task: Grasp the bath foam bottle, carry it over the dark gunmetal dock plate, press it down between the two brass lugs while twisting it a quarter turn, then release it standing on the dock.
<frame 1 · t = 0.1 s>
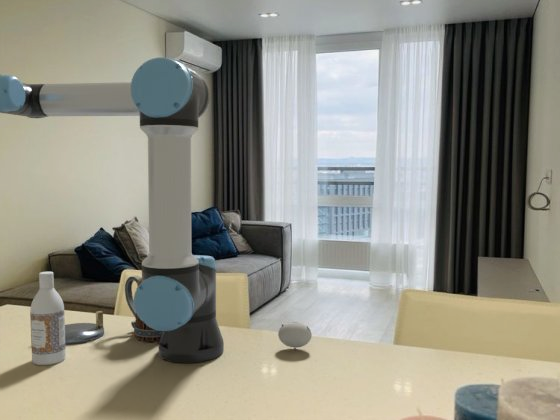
figurine: (294, 350, 126), on the table
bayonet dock: (75, 335, 136), on the table
mug: (148, 334, 137), on the table
bath foam: (49, 361, 119), on the table
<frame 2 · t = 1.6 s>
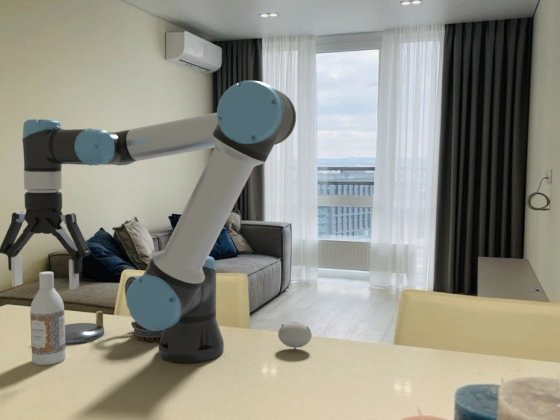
hand: (45, 286, 117), 17 cm above the table, fingers open, 13 cm apart
nothing on the table moved.
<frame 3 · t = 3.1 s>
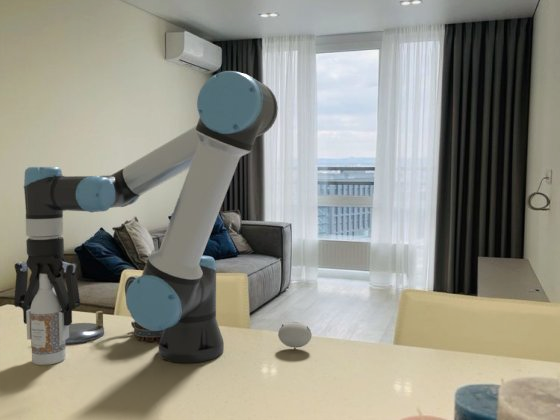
hand: (48, 338, 118), 5 cm above the table, fingers closed on bath foam, 7 cm apart
bath foam: (49, 361, 119), on the table, touching gripper
everything else where it was.
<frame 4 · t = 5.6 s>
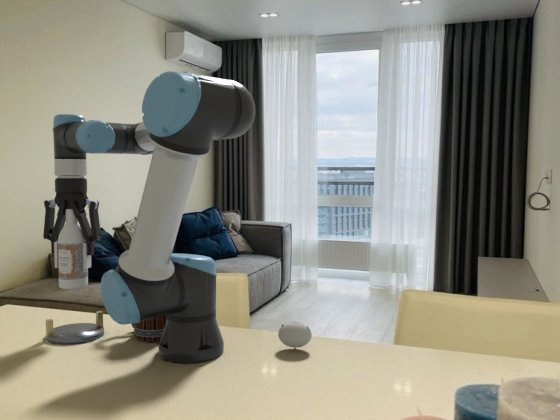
hand: (73, 267, 134), 18 cm above the table, fingers closed on bath foam, 7 cm apart
bath foam: (73, 287, 135), point 13 cm above the table, touching gripper
everything else where it was.
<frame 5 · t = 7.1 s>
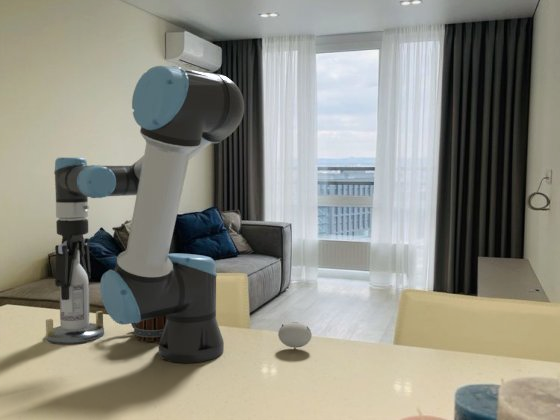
hand: (74, 307, 135), 7 cm above the table, fingers closed on bath foam, 7 cm apart
bath foam: (75, 327, 136), point 2 cm above the table, touching gripper
everything else where it was.
when the fingers open (7 cm above the table, at t = 8.1 s): bath foam stays where it is, resting on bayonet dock.
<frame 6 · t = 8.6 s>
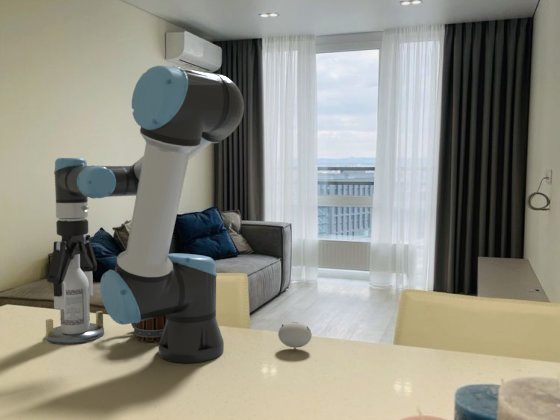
hand: (74, 301, 135), 9 cm above the table, fingers open, 13 cm apart
bath foam: (75, 331, 136), point 1 cm above the table, touching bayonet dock
everything else where it was.
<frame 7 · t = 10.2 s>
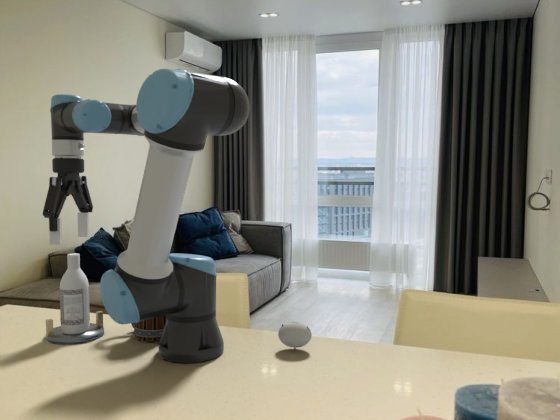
hand: (70, 240, 135), 24 cm above the table, fingers open, 13 cm apart
nothing on the table moved.
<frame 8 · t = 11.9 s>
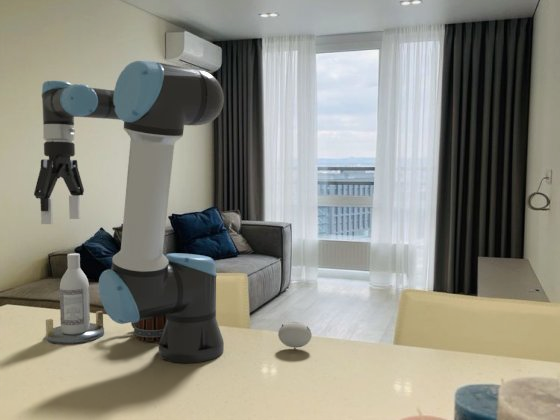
hand: (61, 221, 141), 29 cm above the table, fingers open, 13 cm apart
nothing on the table moved.
at the end: bath foam 0.1 cm from the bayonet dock (horizontally); bath foam tilted 0°; bath foam touching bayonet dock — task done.
